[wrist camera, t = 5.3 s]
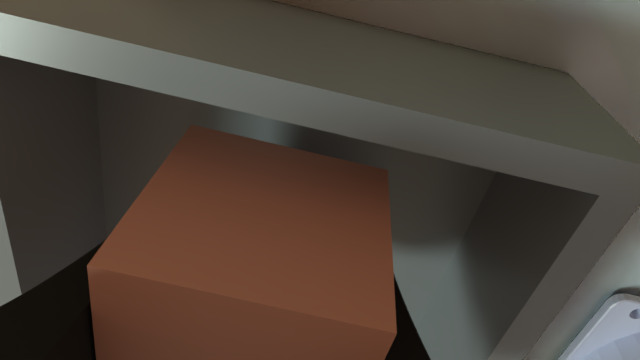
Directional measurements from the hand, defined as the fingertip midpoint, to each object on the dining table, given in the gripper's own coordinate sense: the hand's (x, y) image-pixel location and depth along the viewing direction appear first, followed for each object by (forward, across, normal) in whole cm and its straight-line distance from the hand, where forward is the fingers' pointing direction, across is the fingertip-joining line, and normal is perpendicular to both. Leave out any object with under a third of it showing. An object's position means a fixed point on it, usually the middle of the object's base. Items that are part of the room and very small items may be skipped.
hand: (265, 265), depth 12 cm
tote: (+4, 0, +4) cm, 5 cm away
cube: (+2, 0, 0) cm, 2 cm away
